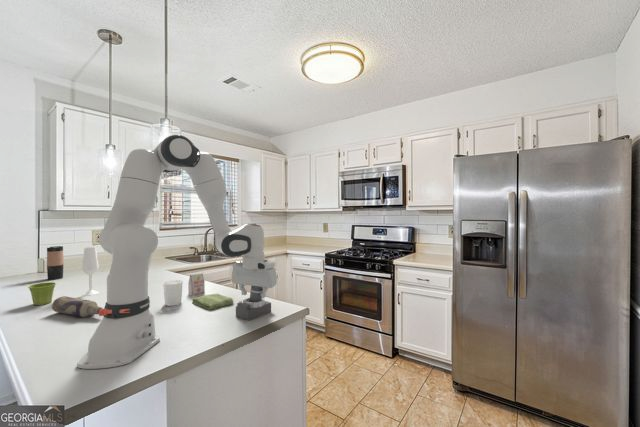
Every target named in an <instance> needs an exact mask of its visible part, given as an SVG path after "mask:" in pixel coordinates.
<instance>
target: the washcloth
mask: <svg viewBox="0 0 640 427" xmlns="http://www.w3.org/2000/svg"><path fill="white" fill-rule="evenodd" d="M191 303H192V305H195V306H199V307H201V308H202V309H206V310H208V311H212V310H215V309H219V308H222V307H227V306H230V305H233V304H234V299H233V298H232V297H229V296H226V295H222V294H219V293H212V294H205V295H204V294H203V295H201V296H199V297H198V296H197V297H196V296H195V297H193V298H192V302H191Z"/></svg>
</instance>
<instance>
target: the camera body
mask: <svg viewBox="0 0 640 427" xmlns="http://www.w3.org/2000/svg"><path fill="white" fill-rule="evenodd" d="M249 299H250V296H249V297H245V298H244V299H242V300H238V302H237V303H236V306H235V317H236V318H240V319H242V320H245V321H247V322H248V321H252V320H255V319H257V318H260V317H262V316H264V315H268V314H270V313H272V302H270V301H266V300H265V298H262V300H261V301H258V302H249Z"/></svg>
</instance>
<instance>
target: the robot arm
mask: <svg viewBox="0 0 640 427" xmlns="http://www.w3.org/2000/svg"><path fill="white" fill-rule="evenodd" d="M180 170H182V171H184V172H185V173H187V175H188V177H189V178H190V179H191V183H192V186H193V189H194V190H195V194H196V195H197V196H198V199H199V200H200V202H201V204H202V205H203V207H204V209H205V211H206V213H207V215H208V219H209V222H210V225H211V227H212V230H213V247H214V249H215V250H216V252H217V253H219V254H222V255H225V256H226V257H229V258H236V257H239V256H242V261H235V262H233V264H232V272H231V282H232V284H234V285H235V284H236V285H239V286H238V287H239V289H240V291H241V295H242V296H247V295H248V290H247V289H246V288H245V286H259V287H263V292H262V293H260V295H261V296H260V297H261V298H264V299H265V298H266V297H267V292H268V290H269V289H271V288H274V287H276V285H277V283H278V280H277V278H278V276H277V271H276V270H277V269H275V267H276V263H275V261H273V260H271V259H268V258H266V257H265V251H264V247H265V232H264V228H263V227H262V225H259V224H254V223H247V222H246V223H244V224H243V225H242V226H241V227H239V228H237V229H235V230H233V231H232V229H231V228H230V226H229V223H228V220H227V217H226V214H225V211H224V210H225V209H224V204H225V200H226V198H227V194H228V193H227V187H226V183H225V180H224V178H223V174H222V172H221V170H220V167H219V165H218V164H217V162H216V160H215V159H214V157H213V155H211V154H210V153H208V152H201V151H200V149H199V148H198V147H196V146H195V144H194V143H193V142H192V140H191V139H189V138H188V137H186V136H184V135H180V134H173V135H169V136H166V137H165V138H164V139H163V140H162V141H160V142H159V143H158V145H157V146H156V147H155V148H154V149H153V150H149V149H145V148H136V149H133V150H131V151H130V152H129V154H128V155H127V157H126V159H125V162H124V164H123V167H122V170H121V174H120V178H119V180H118V181H119V182H118V187H117V191H116V195H115V200H114V202H113V204H112V205H113V206H112V208H111V210H110V212H109V214H108V217H107V219H106V222H105V224H104V227H103V228H102V230H101V231H100V233H99V236H98V242H99V245H100V246H101V248H102V249H103V250H104V251H105V252H106V253H108V254H110V255H112V260H111V265H110V269H109V273H108V275H107V277H106V302H105V305H104V307H103V309H100V310H99V313H98V314H97V315H98V316H99V317H103V318H102V320H101V322H100V323H99V324H98V326H97V327H96V329H95V331H94V333H93V335H92V336H91V338H90V339H89V342H88V346H87V347H88V349H87V351H86V353H85V354H84V355H83V356H82V357H81V358H80V359H79V360H78V362H77V363H76V368H79V369H84V370H92V369H93V370H96V369H97V370H98V369H108V368H115V367H120V366H124V365H129V364H130V363H132V362H133V361H135V360H136V359H137V358H139V357H141V356H142V354H144V353H145V352H147V351H148V350H149V349H150V348H152V347H154V346H155V345H156V344H157V343H159V342H160V341H161V338H160V336H158V335H156V325H155V316H154V314H152V312H151V310H150V306H151V305H150V303H151V299H150V296H149V290H148V289H149V270H150V264H151V261H152V256H153V253H154V252H155V251H156V250H157V247H158V244H159V239H158V235H157V233H156V232H155V231H154V230H153V229H152V228H150V227H149V226H147V225H145V224H146V222H147V220H148V218H149V215H150V214H151V212H153V210H154V208H155V206H156V202H157V201H156V200H157V195H158V190H159V187H160V186H159V185H160V180H161V176H162V174H163V173H173V172H178V171H180Z"/></svg>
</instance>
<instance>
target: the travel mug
mask: <svg viewBox="0 0 640 427" xmlns="http://www.w3.org/2000/svg"><path fill="white" fill-rule="evenodd" d="M46 270H47V271H46V273H47V281H56V280H61V279H63V278H64V246H62V245H59V246H49V247H46Z"/></svg>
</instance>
